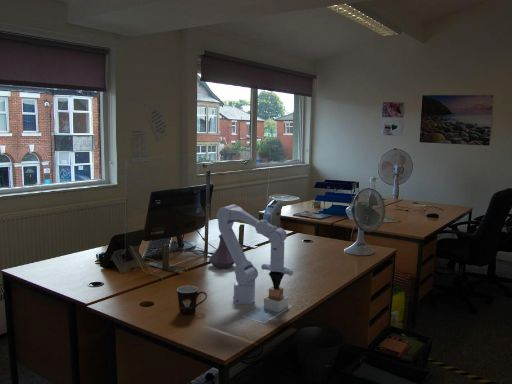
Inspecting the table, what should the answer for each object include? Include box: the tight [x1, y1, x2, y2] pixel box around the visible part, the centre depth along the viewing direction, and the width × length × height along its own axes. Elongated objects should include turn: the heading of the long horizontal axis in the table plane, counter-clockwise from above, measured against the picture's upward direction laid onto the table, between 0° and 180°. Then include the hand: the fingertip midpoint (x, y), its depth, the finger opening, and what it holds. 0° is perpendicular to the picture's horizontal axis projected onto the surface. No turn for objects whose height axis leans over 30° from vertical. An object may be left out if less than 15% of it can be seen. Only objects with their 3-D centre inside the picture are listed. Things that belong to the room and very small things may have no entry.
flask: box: [208, 234, 235, 270], centre depth 254 cm, size 16×16×20 cm
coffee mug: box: [176, 285, 208, 316], centre depth 191 cm, size 12×9×10 cm
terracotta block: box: [268, 286, 284, 301], centre depth 196 cm, size 4×4×5 cm
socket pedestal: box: [263, 294, 289, 312], centre depth 197 cm, size 8×8×4 cm
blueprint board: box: [241, 304, 293, 325], centre depth 193 cm, size 22×11×1 cm, turn 146°
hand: (276, 288), depth 196 cm, fingers closed, pressing on terracotta block
